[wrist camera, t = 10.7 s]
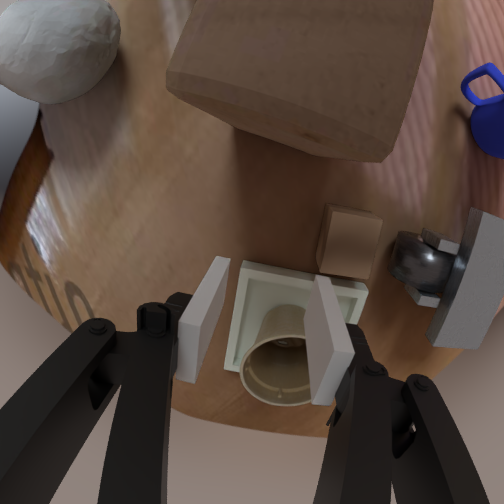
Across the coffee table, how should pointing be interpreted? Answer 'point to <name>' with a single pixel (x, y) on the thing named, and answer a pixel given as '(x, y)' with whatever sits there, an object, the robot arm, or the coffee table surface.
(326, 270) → the block
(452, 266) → the caster wheel
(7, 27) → the skull
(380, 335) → the coffee table surface
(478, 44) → the coffee table surface
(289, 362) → the flower pot
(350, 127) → the wooden block
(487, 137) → the mug
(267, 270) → the tray
